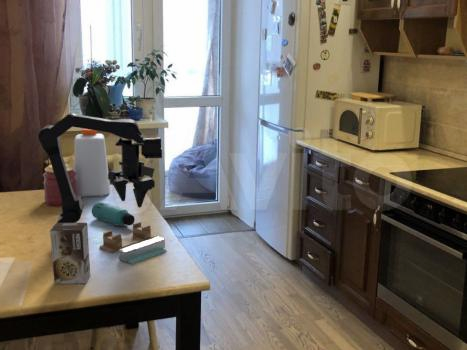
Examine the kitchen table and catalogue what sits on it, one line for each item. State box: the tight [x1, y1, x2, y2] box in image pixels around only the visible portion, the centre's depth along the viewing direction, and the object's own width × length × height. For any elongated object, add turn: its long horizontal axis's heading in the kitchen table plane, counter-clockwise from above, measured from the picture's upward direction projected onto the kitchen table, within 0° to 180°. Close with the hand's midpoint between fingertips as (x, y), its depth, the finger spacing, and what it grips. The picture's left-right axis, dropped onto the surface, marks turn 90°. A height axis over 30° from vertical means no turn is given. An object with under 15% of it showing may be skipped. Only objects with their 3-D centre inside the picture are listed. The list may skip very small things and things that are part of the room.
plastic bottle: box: [73, 128, 111, 198], centre depth 243 cm, size 15×15×28 cm
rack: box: [99, 221, 155, 254], centre depth 187 cm, size 18×6×5 cm, turn 138°
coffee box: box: [49, 222, 91, 285], centre depth 158 cm, size 9×6×16 cm
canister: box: [42, 163, 77, 207], centre depth 230 cm, size 13×13×18 cm
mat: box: [117, 248, 168, 265], centre depth 179 cm, size 14×7×1 cm, turn 138°
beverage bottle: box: [91, 201, 136, 227], centre depth 207 cm, size 6×7×20 cm
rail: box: [118, 236, 166, 262], centre depth 178 cm, size 16×3×3 cm, turn 138°
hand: (131, 204), depth 188 cm, fingers open, 9 cm apart
